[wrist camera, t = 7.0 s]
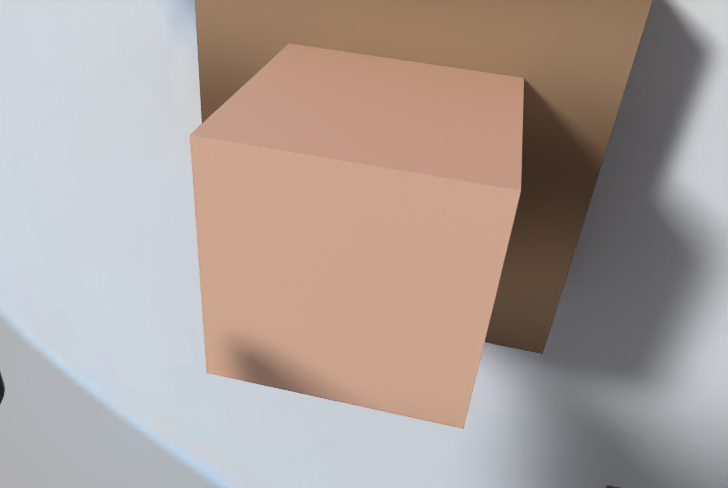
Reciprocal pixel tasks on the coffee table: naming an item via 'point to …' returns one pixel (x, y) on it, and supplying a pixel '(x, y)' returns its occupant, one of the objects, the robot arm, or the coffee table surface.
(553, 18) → the base slab
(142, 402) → the coffee table surface
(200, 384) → the coffee table surface
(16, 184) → the coffee table surface
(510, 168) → the cube
